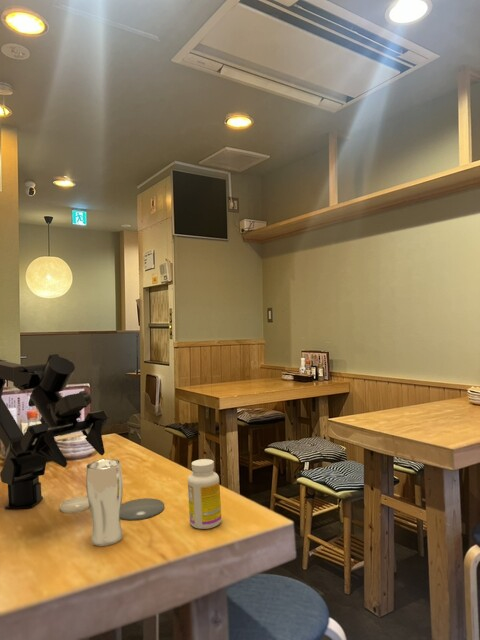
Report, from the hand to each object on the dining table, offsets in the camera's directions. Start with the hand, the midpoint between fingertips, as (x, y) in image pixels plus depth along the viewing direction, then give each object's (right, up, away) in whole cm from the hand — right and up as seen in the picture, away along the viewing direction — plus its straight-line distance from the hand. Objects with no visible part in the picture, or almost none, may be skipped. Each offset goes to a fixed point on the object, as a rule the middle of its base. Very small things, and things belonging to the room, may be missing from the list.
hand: (85, 459), depth 100 cm
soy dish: (-6, -15, +12) cm, 20 cm away
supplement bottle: (+26, -13, -1) cm, 29 cm away
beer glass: (+6, -14, -6) cm, 17 cm away
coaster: (+10, -14, +8) cm, 19 cm away
